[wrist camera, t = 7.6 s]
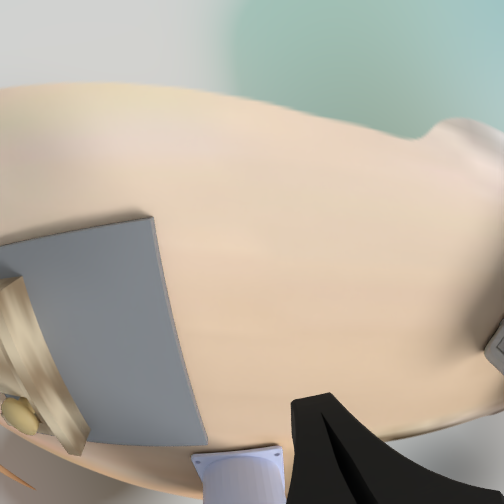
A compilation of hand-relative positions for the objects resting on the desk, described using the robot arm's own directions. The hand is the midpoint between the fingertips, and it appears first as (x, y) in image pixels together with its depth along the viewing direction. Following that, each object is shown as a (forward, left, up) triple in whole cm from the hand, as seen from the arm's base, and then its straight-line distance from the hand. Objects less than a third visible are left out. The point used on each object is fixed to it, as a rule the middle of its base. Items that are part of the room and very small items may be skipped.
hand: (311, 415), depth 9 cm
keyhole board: (-3, +16, -9) cm, 18 cm away
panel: (-3, +21, -9) cm, 23 cm away
